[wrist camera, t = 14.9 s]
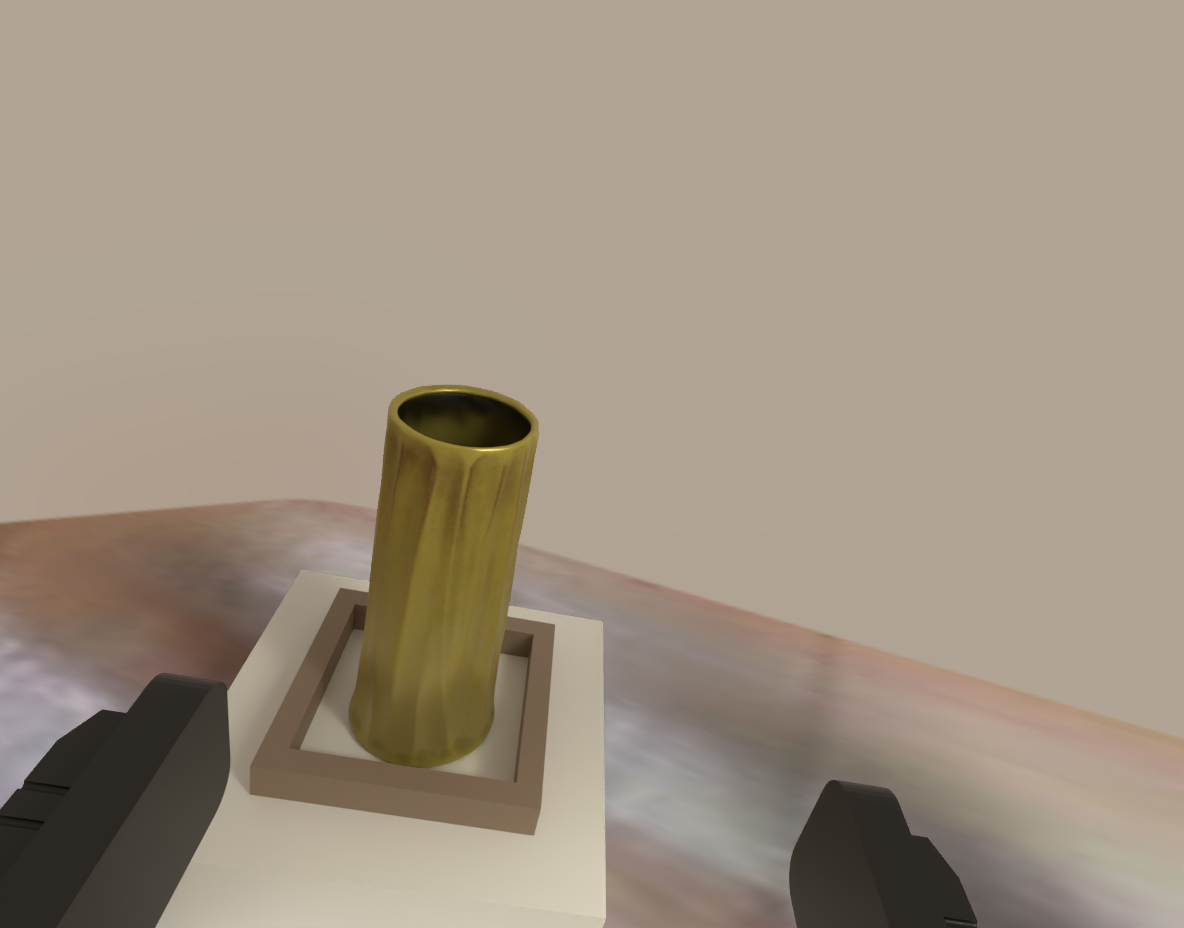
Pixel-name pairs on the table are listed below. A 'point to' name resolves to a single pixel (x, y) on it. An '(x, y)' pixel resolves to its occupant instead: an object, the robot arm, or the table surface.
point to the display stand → (404, 789)
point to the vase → (441, 572)
